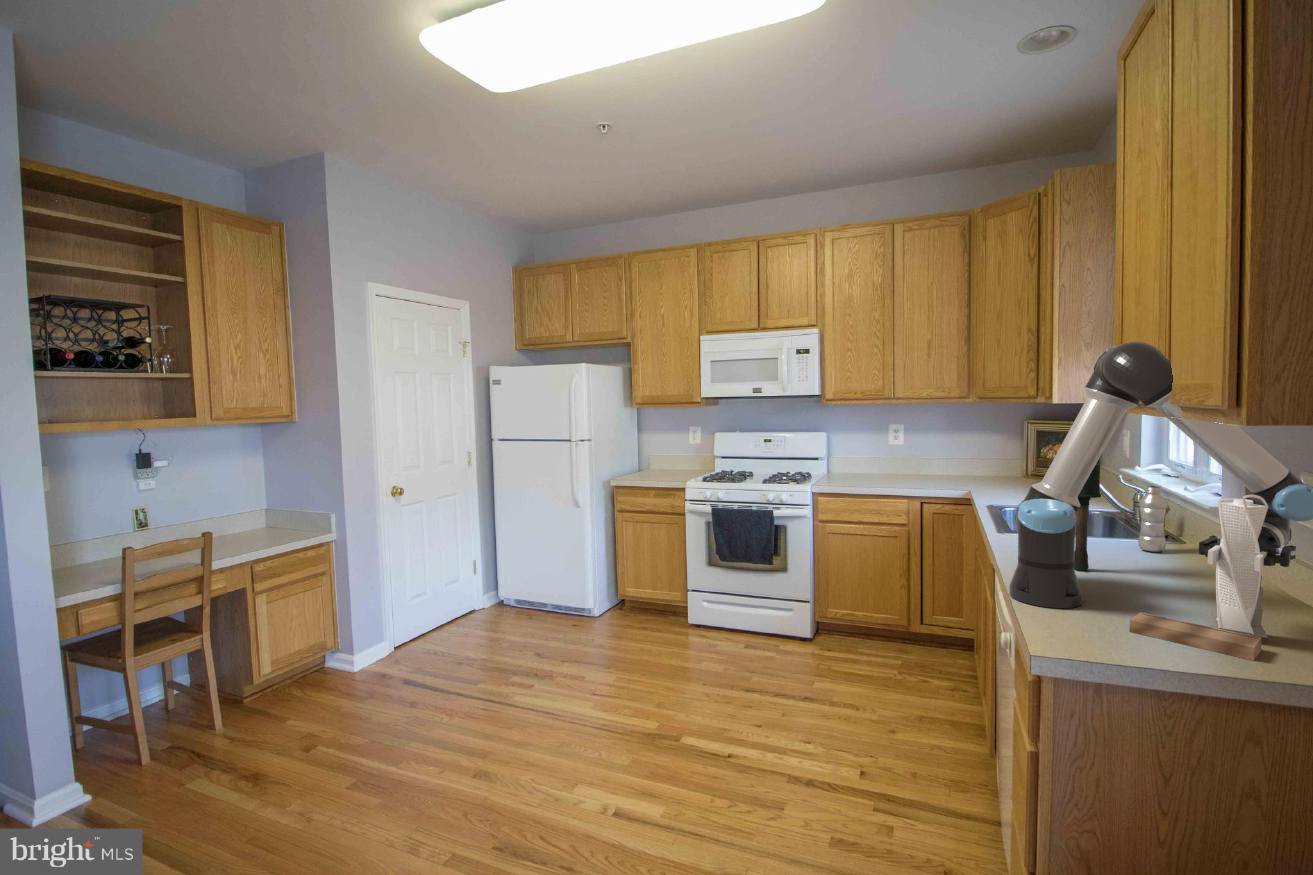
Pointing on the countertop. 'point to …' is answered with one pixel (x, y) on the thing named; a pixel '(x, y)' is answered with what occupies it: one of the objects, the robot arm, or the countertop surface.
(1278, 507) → the robot arm
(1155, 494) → the ribbed metallic bottle
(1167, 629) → the board
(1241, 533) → the skyscraper
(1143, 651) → the countertop surface
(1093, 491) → the stick grenade
